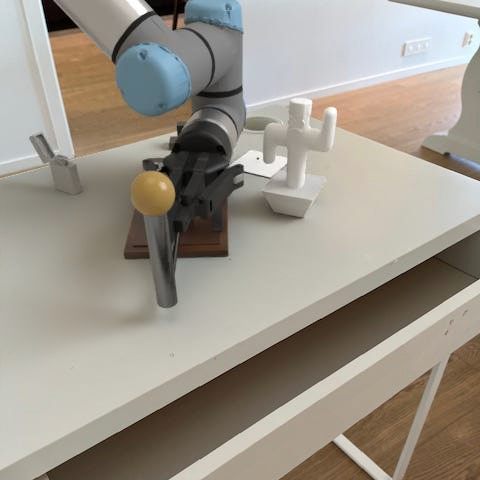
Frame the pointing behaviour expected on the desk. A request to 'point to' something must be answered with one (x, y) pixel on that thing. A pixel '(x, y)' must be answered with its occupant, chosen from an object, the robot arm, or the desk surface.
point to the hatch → (184, 235)
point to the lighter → (57, 165)
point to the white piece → (260, 163)
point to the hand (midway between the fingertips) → (158, 243)
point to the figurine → (296, 157)
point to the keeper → (179, 129)
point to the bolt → (158, 231)
